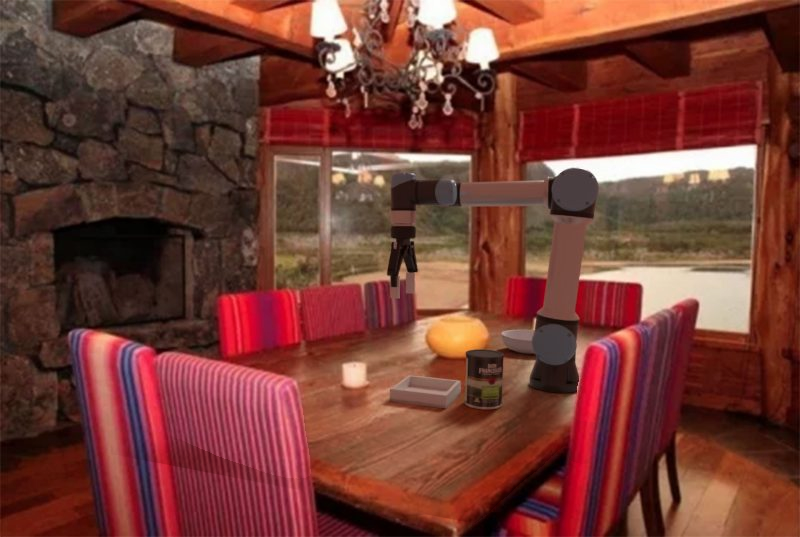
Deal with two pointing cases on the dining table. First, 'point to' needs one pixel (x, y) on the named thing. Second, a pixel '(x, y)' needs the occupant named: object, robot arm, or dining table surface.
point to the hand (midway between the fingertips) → (402, 295)
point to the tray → (425, 391)
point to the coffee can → (484, 379)
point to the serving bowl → (519, 340)
